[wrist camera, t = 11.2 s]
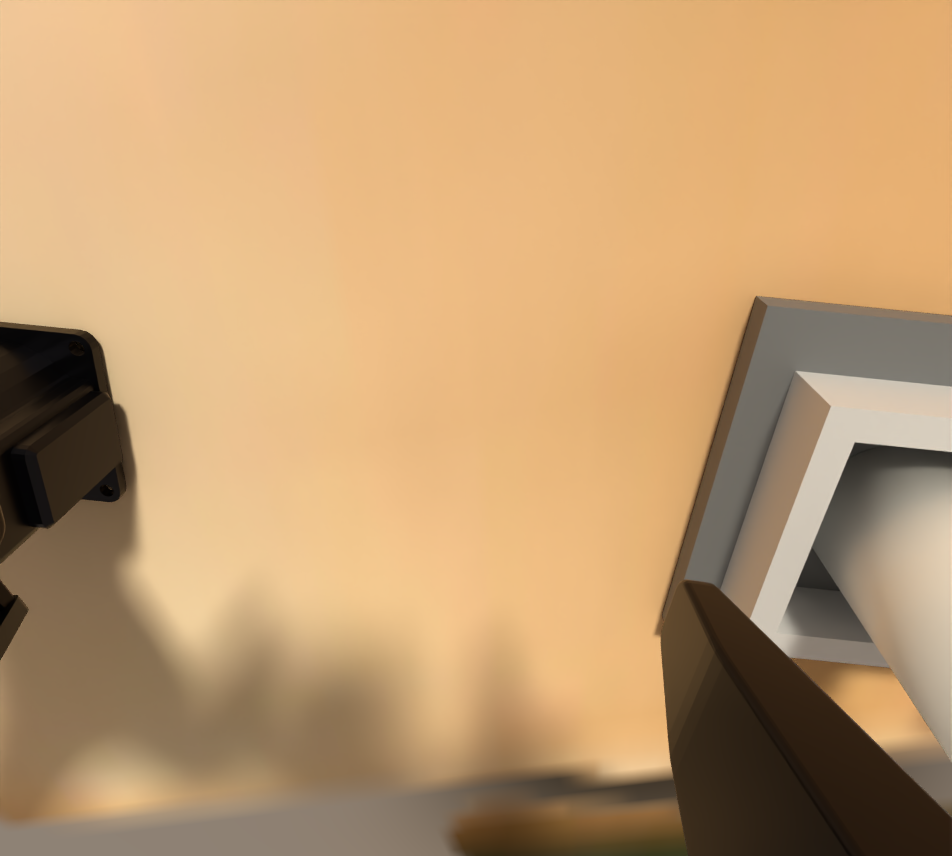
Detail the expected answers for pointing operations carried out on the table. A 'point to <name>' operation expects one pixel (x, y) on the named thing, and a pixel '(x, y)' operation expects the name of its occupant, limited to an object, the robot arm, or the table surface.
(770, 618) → the tray with square frame
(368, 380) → the table surface
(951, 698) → the white rounded upright piece
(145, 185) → the table surface
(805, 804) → the robot arm
